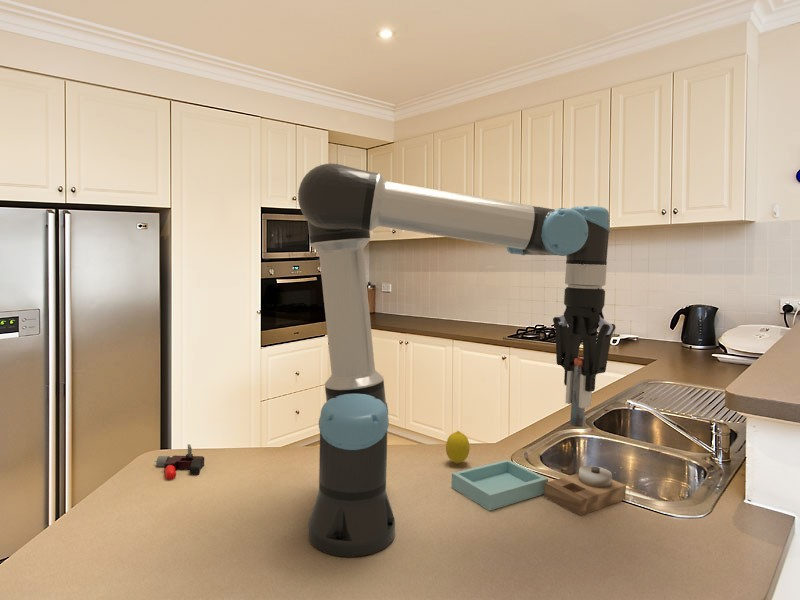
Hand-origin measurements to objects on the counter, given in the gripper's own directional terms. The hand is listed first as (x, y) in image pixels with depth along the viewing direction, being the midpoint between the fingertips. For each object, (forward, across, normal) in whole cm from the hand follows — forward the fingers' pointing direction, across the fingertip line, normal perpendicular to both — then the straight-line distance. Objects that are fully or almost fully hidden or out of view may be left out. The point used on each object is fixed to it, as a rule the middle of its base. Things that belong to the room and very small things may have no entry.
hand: (578, 404), depth 106 cm
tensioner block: (+20, 0, -4) cm, 20 cm away
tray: (+20, +11, +9) cm, 25 cm away
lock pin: (+4, 0, 0) cm, 4 cm away
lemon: (+21, +27, +8) cm, 35 cm away
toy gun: (+21, +54, +66) cm, 88 cm away
